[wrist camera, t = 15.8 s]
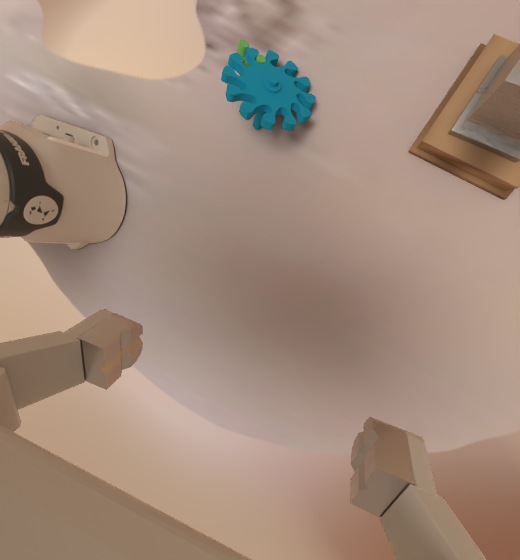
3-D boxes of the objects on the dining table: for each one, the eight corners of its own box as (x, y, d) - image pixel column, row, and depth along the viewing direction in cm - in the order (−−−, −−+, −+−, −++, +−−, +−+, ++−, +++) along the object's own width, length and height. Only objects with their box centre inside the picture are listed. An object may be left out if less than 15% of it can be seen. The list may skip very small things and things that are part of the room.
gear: (334, 113, 29) (250, 126, 26) (308, 153, 35) (236, 169, 31) (287, 32, 31) (202, 33, 27) (270, 82, 36) (197, 89, 33)
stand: (408, 151, 29) (413, 143, 26) (478, 47, 26) (492, 25, 23) (503, 199, 27) (519, 195, 24) (591, 92, 24) (621, 74, 21)
